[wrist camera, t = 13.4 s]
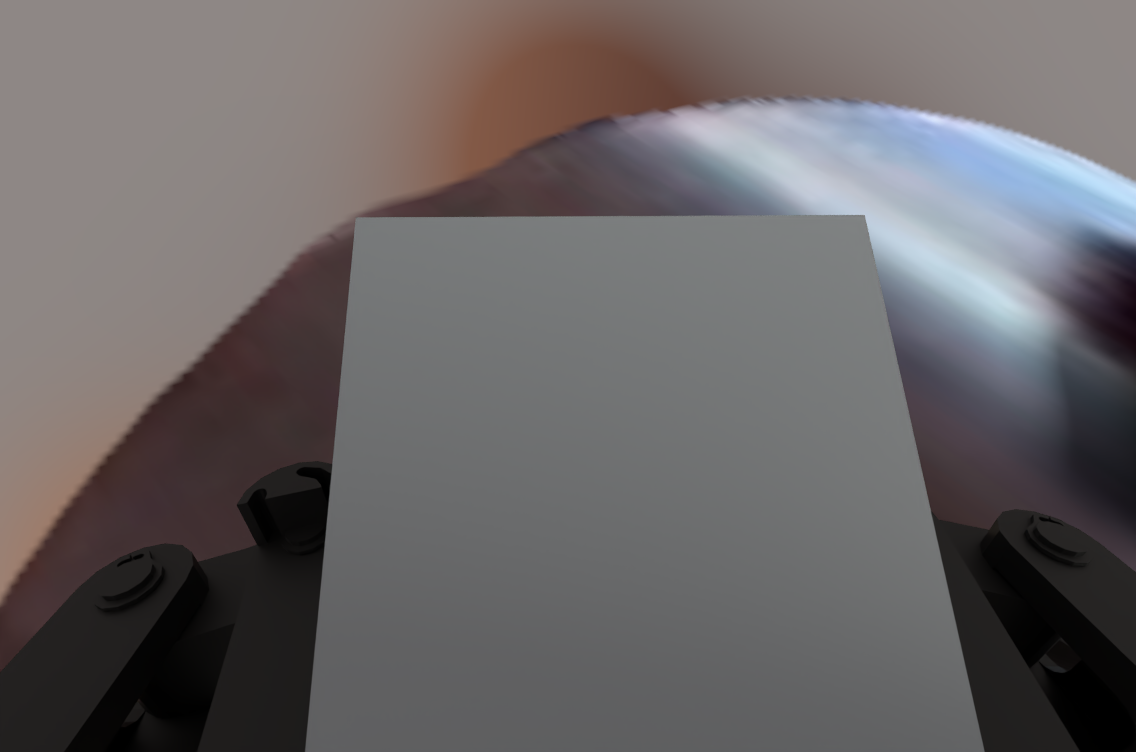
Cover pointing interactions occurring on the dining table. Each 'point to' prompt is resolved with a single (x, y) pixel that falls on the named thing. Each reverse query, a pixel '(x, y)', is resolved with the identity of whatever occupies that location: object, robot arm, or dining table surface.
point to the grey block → (628, 497)
